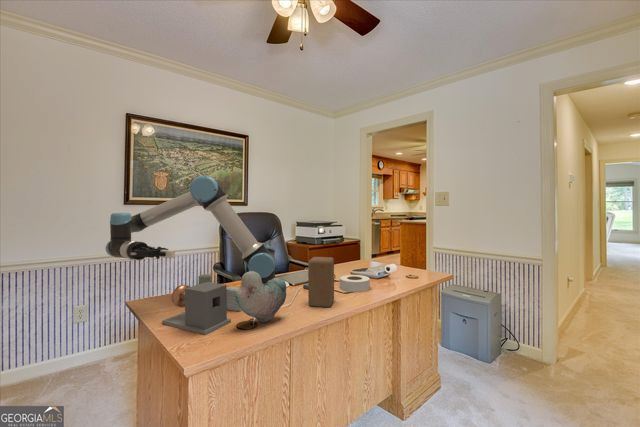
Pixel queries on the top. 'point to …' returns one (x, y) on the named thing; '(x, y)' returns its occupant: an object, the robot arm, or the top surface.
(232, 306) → the medicine box
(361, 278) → the roll of tape
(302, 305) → the top surface
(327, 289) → the wooden block
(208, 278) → the air freshener
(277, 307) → the grey rounded bird shape
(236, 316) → the top surface
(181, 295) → the orange rounded long piece
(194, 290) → the bearing block
